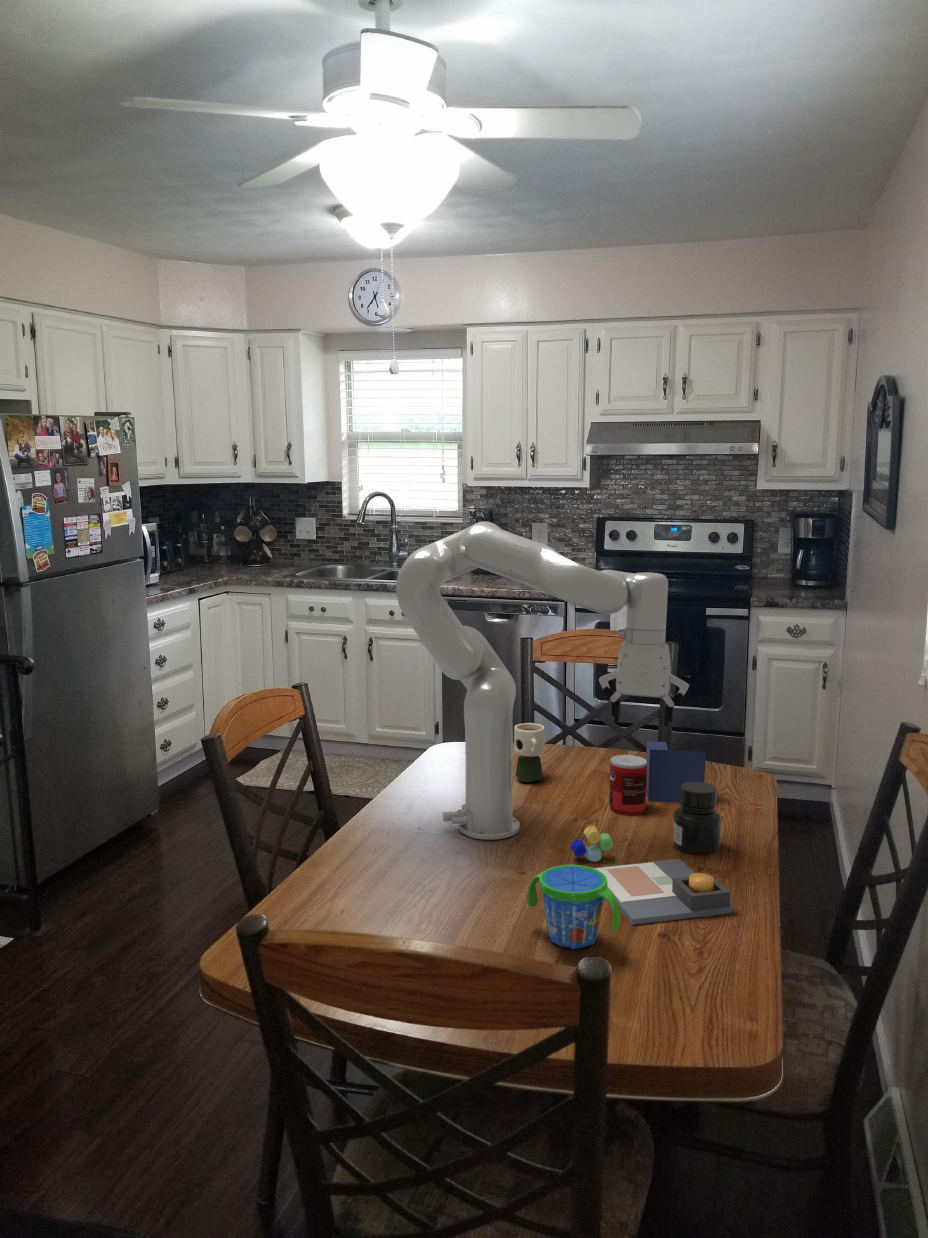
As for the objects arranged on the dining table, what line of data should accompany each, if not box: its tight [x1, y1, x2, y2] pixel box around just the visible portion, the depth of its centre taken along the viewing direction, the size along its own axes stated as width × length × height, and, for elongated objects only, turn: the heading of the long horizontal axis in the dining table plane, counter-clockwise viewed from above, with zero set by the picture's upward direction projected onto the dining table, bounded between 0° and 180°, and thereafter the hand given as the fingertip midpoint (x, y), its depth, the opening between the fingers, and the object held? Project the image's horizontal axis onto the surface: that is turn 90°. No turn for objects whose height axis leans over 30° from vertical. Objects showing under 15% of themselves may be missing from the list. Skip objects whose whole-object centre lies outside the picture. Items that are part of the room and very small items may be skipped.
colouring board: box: [593, 858, 735, 926], centre depth 165 cm, size 18×20×4 cm
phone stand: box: [644, 741, 707, 804], centre depth 214 cm, size 12×12×12 cm
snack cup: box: [526, 864, 622, 950], centre depth 148 cm, size 16×10×10 cm
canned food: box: [608, 754, 647, 816], centre depth 204 cm, size 8×8×11 cm
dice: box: [570, 825, 614, 863], centre depth 178 cm, size 8×3×6 cm, turn 99°
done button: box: [689, 872, 715, 893], centre depth 160 cm, size 4×4×2 cm
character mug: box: [513, 722, 546, 783], centre depth 222 cm, size 11×7×13 cm, turn 10°
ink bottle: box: [672, 782, 722, 855], centre depth 184 cm, size 10×9×12 cm
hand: (641, 722), depth 186 cm, fingers open, 9 cm apart
